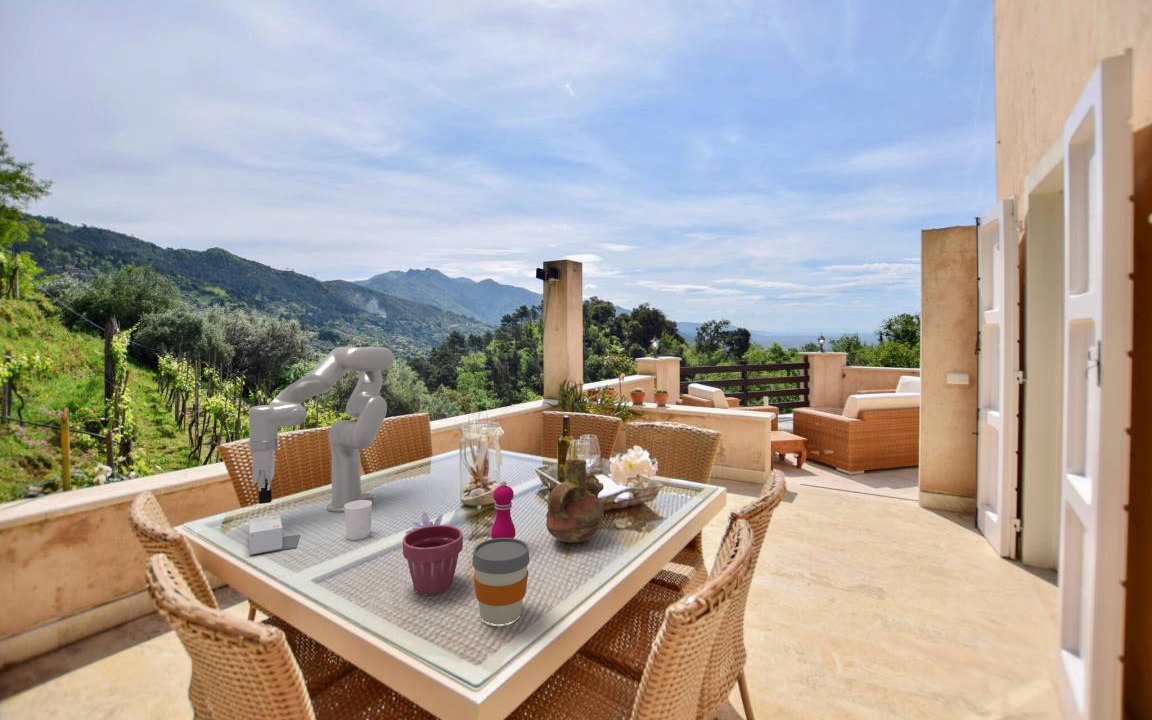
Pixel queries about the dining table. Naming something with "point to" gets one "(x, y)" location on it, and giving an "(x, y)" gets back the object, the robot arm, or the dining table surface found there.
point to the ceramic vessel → (575, 505)
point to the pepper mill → (503, 512)
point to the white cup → (358, 519)
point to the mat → (287, 543)
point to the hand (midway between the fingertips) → (265, 502)
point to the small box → (265, 534)
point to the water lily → (425, 522)
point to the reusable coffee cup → (500, 578)
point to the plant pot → (432, 557)
